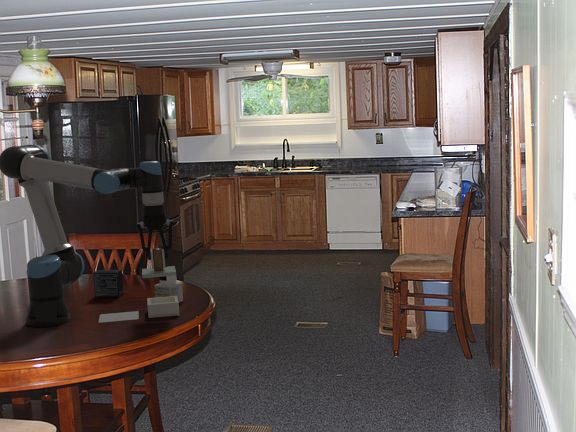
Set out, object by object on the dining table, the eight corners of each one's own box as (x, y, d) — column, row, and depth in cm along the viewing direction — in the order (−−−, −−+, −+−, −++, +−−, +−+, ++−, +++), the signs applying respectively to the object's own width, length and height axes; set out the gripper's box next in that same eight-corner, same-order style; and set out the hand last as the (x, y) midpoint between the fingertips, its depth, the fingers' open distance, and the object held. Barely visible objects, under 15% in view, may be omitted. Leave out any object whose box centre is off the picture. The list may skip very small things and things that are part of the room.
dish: (148, 318, 278) (147, 305, 278) (148, 311, 289) (147, 298, 288) (179, 315, 280) (178, 302, 280) (177, 308, 291) (176, 295, 290)
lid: (142, 278, 275) (140, 252, 274) (142, 272, 287) (140, 247, 286) (176, 275, 277) (174, 249, 276) (174, 269, 289) (172, 244, 288)
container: (155, 304, 300) (153, 271, 298) (167, 299, 306) (165, 267, 305) (171, 305, 296) (169, 272, 294) (183, 301, 303) (181, 268, 301)
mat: (98, 323, 274) (98, 322, 274) (99, 315, 286) (99, 314, 286) (138, 319, 277) (138, 319, 277) (138, 311, 289) (138, 311, 289)
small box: (124, 293, 320) (122, 268, 319) (119, 297, 314) (117, 272, 313) (99, 294, 322) (97, 269, 320) (94, 298, 315) (92, 272, 314)
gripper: (130, 207, 274) (135, 272, 277) (177, 203, 277) (181, 267, 280) (130, 205, 281) (135, 268, 284) (176, 201, 284) (180, 264, 287)
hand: (158, 268), depth 282 cm, fingers closed on lid, 3 cm apart
